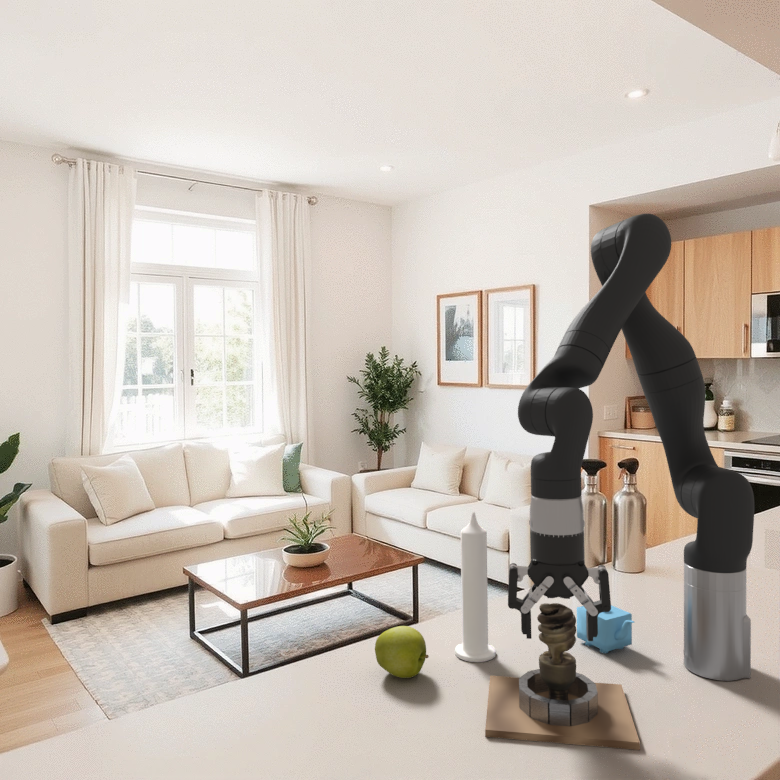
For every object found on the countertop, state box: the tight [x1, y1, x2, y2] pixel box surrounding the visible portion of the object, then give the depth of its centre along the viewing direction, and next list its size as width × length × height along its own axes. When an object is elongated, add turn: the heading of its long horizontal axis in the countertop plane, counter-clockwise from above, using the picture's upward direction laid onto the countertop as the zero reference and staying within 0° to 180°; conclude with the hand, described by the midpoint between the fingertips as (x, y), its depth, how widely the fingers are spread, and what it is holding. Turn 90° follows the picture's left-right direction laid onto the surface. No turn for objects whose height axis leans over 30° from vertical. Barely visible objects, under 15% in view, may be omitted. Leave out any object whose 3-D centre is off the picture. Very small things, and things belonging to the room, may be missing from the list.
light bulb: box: [537, 602, 577, 701], centre depth 97 cm, size 6×6×15 cm
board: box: [484, 675, 641, 751], centre depth 98 cm, size 20×16×1 cm
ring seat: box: [519, 668, 598, 727], centre depth 97 cm, size 11×11×3 cm
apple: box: [374, 625, 430, 679], centre depth 110 cm, size 8×9×8 cm
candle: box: [454, 511, 496, 663], centre depth 117 cm, size 7×7×25 cm
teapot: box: [576, 604, 636, 654], centre depth 119 cm, size 12×6×8 cm, turn 28°
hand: (558, 637), depth 97 cm, fingers open, 8 cm apart
